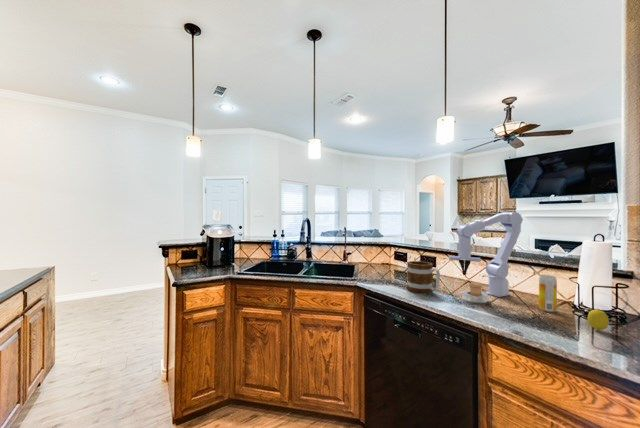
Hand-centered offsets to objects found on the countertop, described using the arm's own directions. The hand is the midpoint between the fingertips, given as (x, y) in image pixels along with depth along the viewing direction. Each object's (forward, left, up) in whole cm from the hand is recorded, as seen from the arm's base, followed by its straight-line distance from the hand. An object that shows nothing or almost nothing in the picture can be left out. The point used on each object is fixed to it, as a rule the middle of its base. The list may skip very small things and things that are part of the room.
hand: (464, 274), depth 149 cm
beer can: (-12, +32, -11) cm, 36 cm away
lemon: (-3, +52, -11) cm, 53 cm away
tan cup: (+3, +8, -10) cm, 13 cm away
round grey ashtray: (+3, +8, -10) cm, 13 cm away
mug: (+15, -13, -11) cm, 23 cm away
